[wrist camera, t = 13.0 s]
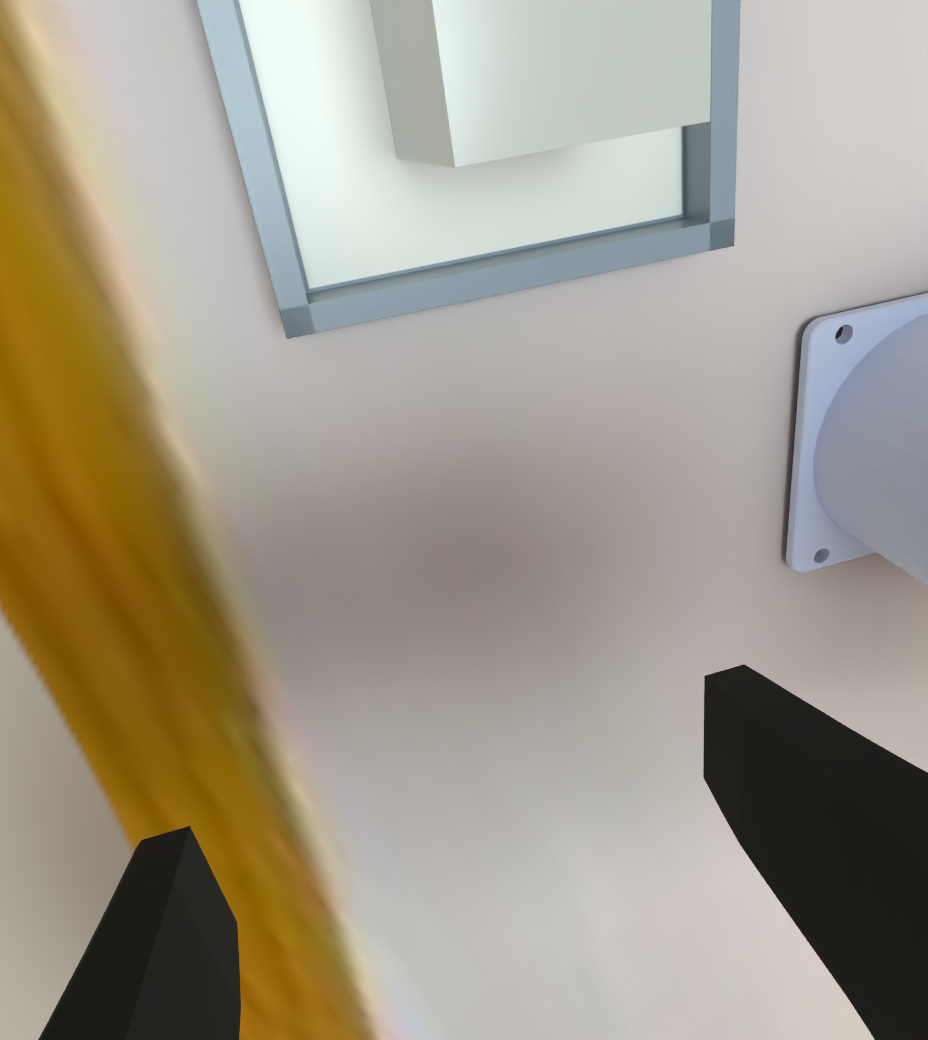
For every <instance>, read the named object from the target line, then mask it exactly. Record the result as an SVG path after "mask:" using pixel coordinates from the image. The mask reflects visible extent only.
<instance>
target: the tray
mask: <svg viewBox="0 0 928 1040" xmlns="http://www.w3.org/2000/svg"><path fill="white" fill-rule="evenodd" d="M196 1H197V4H198V8H199V12H200V16H201V19H202V23H203V27H204V30H205V34H206V38H207V42H208V45H209V49H210V53H211V57H212V60H213V64H214V68H215V72H216V75H217V79H218V83H219V87H220V90H221V94H222V98H223V101H224V105H225V109H226V113H227V116H228V120H229V124H230V128H231V131H232V135H233V139H234V143H235V146H236V150H237V154H238V158H239V161H240V165H241V169H242V172H243V176H244V180H245V184H246V187H247V191H248V195H249V199H250V202H251V206H252V210H253V214H254V217H255V221H256V225H257V229H258V232H259V236H260V240H261V243H262V247H263V251H264V255H265V258H266V262H267V266H268V270H269V273H270V277H271V281H272V285H273V288H274V292H275V296H276V300H277V303H278V307H279V311H280V314H281V318H282V322H283V326H284V329H285V333H286V337H287V339H288V338H293V337H298V336H303V335H307V334H312V333H317V332H322V331H327V330H331V329H336V328H341V327H346V326H351V325H356V324H360V323H365V322H370V321H375V320H380V319H384V318H389V317H394V316H399V315H404V314H408V313H413V312H418V311H423V310H428V309H432V308H437V307H442V306H447V305H452V304H456V303H461V302H466V301H471V300H476V299H480V298H485V297H490V296H495V295H500V294H504V293H509V292H514V291H519V290H524V289H528V288H533V287H538V286H543V285H548V284H553V283H557V282H562V281H567V280H572V279H577V278H581V277H586V276H591V275H596V274H601V273H605V272H610V271H615V270H620V269H625V268H629V267H634V266H639V265H644V264H649V263H653V262H658V261H663V260H668V259H673V258H677V257H682V256H687V255H692V254H697V253H701V252H706V251H711V250H716V249H721V248H726V247H730V246H734V222H735V185H736V147H737V110H738V72H739V34H740V0H712V13H711V96H710V121H709V122H703V123H698V124H692V125H687V126H681V127H676V128H670V129H665V130H659V131H654V132H648V133H643V134H637V135H632V136H626V137H620V138H615V139H609V140H604V141H598V142H593V143H587V144H582V145H576V146H571V147H565V148H560V149H554V150H549V151H543V152H538V153H532V154H527V155H521V156H516V157H510V158H505V159H499V160H493V161H488V162H482V163H477V164H471V165H466V166H460V167H449V166H443V165H437V164H430V163H424V162H418V161H411V160H405V159H399V158H397V157H396V151H395V146H394V140H393V134H392V128H391V123H390V117H389V111H388V105H387V99H386V94H385V88H384V82H383V76H382V71H381V65H380V59H379V53H378V47H377V42H376V36H375V30H374V24H373V19H372V13H371V7H370V1H369V0H196Z"/></svg>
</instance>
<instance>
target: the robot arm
mask: <svg viewBox="0 0 928 1040" xmlns="http://www.w3.org/2000/svg"><path fill="white" fill-rule="evenodd" d="M841 326H843V331H842V334H841V336H840V337H839V338H838V339H835V335H836V332H837V331H838V329H839V328H840V327H841ZM819 550H820V552H819V553H818V554H817V555H816V556H815V554H816V553H817V552H818V551H819ZM874 553H878V554H880V555H881V556H883V557H884V558H886V559H887V560H889V561H890V562H892V563H893V564H895V565H896V566H897V567H899V568H900V569H902V570H903V571H905V572H906V573H908V574H909V575H911V576H912V577H914V578H915V579H917V580H918V581H920V582H921V583H923V584H924V585H926V586H927V587H928V293H924V294H920V295H915V296H911V297H907V298H902V299H898V300H893V301H889V302H884V303H880V304H876V305H871V306H867V307H862V308H858V309H853V310H849V311H845V312H840V313H836V314H831V315H827V316H822V317H819V318H817V319H815V320H813V321H812V322H811V323H810V324H809V325H808V326H807V328H806V329H805V331H804V333H803V337H802V347H801V360H800V374H799V387H798V401H797V415H796V428H795V442H794V456H793V469H792V483H791V496H790V510H789V524H788V537H787V551H786V562H787V564H788V565H789V567H791V568H792V569H793V570H794V571H795V572H798V573H805V572H809V571H812V570H816V569H820V568H823V567H827V566H830V565H834V564H838V563H841V562H845V561H849V560H852V559H856V558H859V557H863V556H867V555H870V554H874ZM704 779H705V781H706V783H707V785H708V787H709V789H710V790H711V792H712V794H713V796H714V798H715V800H716V802H717V804H718V806H719V807H720V809H721V811H722V813H723V815H724V817H725V818H726V820H727V822H728V824H729V826H730V827H731V829H732V831H733V833H734V834H735V836H736V838H737V840H738V842H739V843H740V845H741V846H742V848H743V849H744V851H745V852H746V854H747V855H748V857H749V858H750V860H751V861H752V862H753V864H754V865H755V867H756V868H757V870H758V871H759V872H760V874H761V875H762V877H763V878H764V880H765V881H766V883H767V884H768V885H769V887H770V888H771V890H772V891H773V893H774V894H775V895H776V897H777V898H778V900H779V901H780V903H781V904H782V905H783V907H784V908H785V910H786V911H787V912H788V914H789V915H790V917H791V918H792V919H793V921H794V922H795V924H796V925H797V927H798V928H799V929H800V931H801V932H802V934H803V935H804V936H805V938H806V939H807V941H808V942H809V944H810V945H811V946H812V948H813V949H814V951H815V952H816V953H817V955H818V956H819V958H820V959H821V960H822V962H823V963H824V965H825V966H826V968H827V969H828V970H829V972H830V973H831V975H832V976H833V977H834V979H835V980H836V982H837V983H838V985H839V986H840V987H841V989H842V990H843V992H844V993H845V994H846V996H847V997H848V999H849V1000H850V1002H851V1003H852V1005H853V1006H854V1008H855V1010H856V1011H857V1013H858V1014H859V1016H860V1017H861V1019H862V1020H863V1022H864V1023H865V1025H866V1026H867V1028H868V1029H869V1031H870V1032H871V1034H872V1036H873V1037H874V1039H875V1040H928V773H927V772H925V771H924V770H922V769H920V768H918V767H916V766H914V765H913V764H911V763H909V762H907V761H905V760H904V759H902V758H900V757H898V756H896V755H895V754H893V753H891V752H889V751H888V750H886V749H884V748H882V747H881V746H879V745H877V744H875V743H874V742H872V741H870V740H869V739H867V738H865V737H863V736H862V735H860V734H858V733H857V732H855V731H853V730H852V729H850V728H848V727H846V726H845V725H843V724H841V723H840V722H838V721H836V720H835V719H833V718H831V717H830V716H828V715H826V714H825V713H823V712H821V711H820V710H818V709H817V708H815V707H813V706H812V705H810V704H808V703H807V702H805V701H803V700H802V699H800V698H798V697H797V696H795V695H794V694H792V693H790V692H789V691H787V690H785V689H784V688H782V687H781V686H779V685H777V684H776V683H774V682H772V681H771V680H769V679H767V678H766V677H764V676H763V675H761V674H759V673H758V672H756V671H754V670H752V669H751V668H749V667H747V666H746V665H741V666H737V667H734V668H731V669H727V670H724V671H720V672H717V673H713V674H710V675H707V676H705V692H704ZM240 1011H241V999H240V970H239V950H238V931H237V921H236V919H235V917H234V915H233V913H232V911H231V909H230V907H229V905H228V903H227V901H226V899H225V897H224V895H223V893H222V891H221V889H220V887H219V885H218V883H217V881H216V879H215V877H214V875H213V872H212V870H211V868H210V866H209V864H208V862H207V860H206V858H205V856H204V854H203V852H202V850H201V848H200V846H199V844H198V842H197V840H196V838H195V836H194V834H193V832H192V830H191V828H190V826H188V827H185V828H182V829H178V830H175V831H171V832H168V833H164V834H161V835H158V836H154V837H151V838H147V839H144V840H141V842H140V843H139V845H138V846H137V848H136V849H135V851H134V853H133V855H132V858H131V860H130V862H129V864H128V866H127V868H126V870H125V872H124V874H123V876H122V878H121V880H120V882H119V884H118V886H117V888H116V891H115V892H114V895H113V897H112V899H111V901H110V903H109V905H108V907H107V909H106V911H105V913H104V915H103V917H102V919H101V921H100V923H99V925H98V927H97V929H96V931H95V933H94V935H93V937H92V939H91V941H90V943H89V945H88V947H87V949H86V951H85V953H84V955H83V957H82V959H81V961H80V962H79V964H78V966H77V968H76V970H75V972H74V974H73V976H72V978H71V979H70V981H69V983H68V985H67V987H66V989H65V991H64V993H63V995H62V996H61V998H60V1000H59V1002H58V1004H57V1006H56V1008H55V1010H54V1012H53V1013H52V1015H51V1017H50V1019H49V1021H48V1023H47V1025H46V1027H45V1028H44V1030H43V1032H42V1034H41V1036H40V1038H39V1039H38V1040H239V1030H240Z"/></svg>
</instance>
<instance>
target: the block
mask: <svg viewBox="0 0 928 1040" xmlns="http://www.w3.org/2000/svg"><path fill="white" fill-rule="evenodd" d="M369 1H370V7H371V13H372V19H373V24H374V30H375V36H376V42H377V47H378V53H379V59H380V65H381V71H382V76H383V82H384V88H385V94H386V99H387V105H388V111H389V117H390V123H391V128H392V134H393V140H394V146H395V151H396V157H397V158H399V159H405V160H411V161H418V162H424V163H430V164H437V165H443V166H449V167H460V166H466V165H471V164H477V163H482V162H488V161H493V160H499V159H505V158H510V157H516V156H521V155H527V154H532V153H538V152H543V151H549V150H554V149H560V148H565V147H571V146H576V145H582V144H587V143H593V142H598V141H604V140H609V139H615V138H620V137H626V136H632V135H637V134H643V133H648V132H654V131H659V130H665V129H670V128H676V127H681V126H687V125H692V124H698V123H703V122H709V121H710V96H711V13H712V0H369Z"/></svg>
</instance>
